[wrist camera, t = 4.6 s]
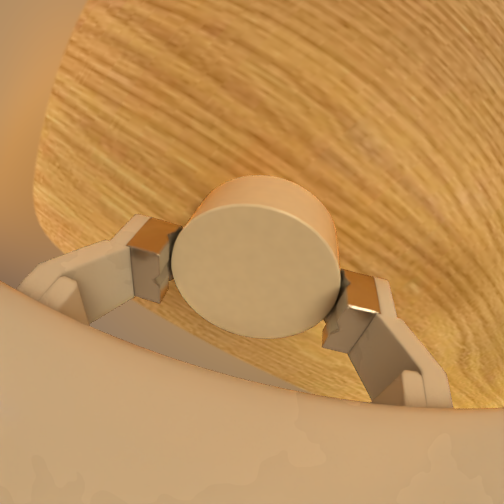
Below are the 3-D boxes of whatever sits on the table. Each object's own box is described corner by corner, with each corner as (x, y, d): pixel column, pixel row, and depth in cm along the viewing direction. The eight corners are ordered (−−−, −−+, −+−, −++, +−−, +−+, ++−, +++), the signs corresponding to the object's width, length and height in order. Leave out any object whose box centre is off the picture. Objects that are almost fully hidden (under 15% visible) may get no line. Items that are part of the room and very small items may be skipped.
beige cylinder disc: (182, 184, 10) (141, 228, 8) (318, 147, 9) (320, 184, 6) (230, 288, 13) (210, 343, 10) (345, 270, 11) (350, 331, 9)
